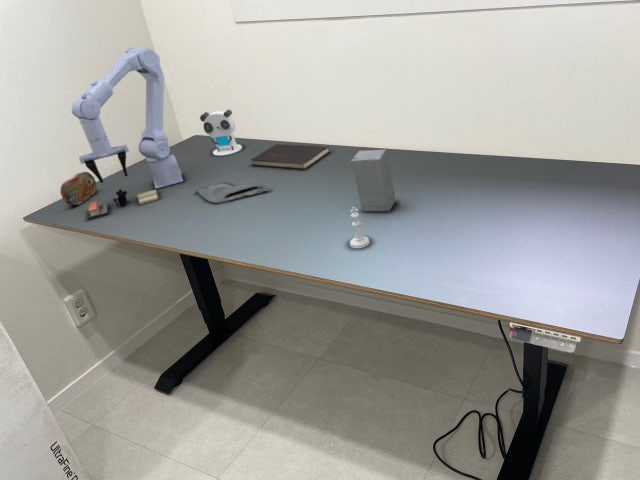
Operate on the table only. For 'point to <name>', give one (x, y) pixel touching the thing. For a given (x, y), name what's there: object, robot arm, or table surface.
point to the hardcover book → (290, 156)
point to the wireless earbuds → (121, 198)
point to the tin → (78, 188)
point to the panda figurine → (221, 132)
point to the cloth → (228, 192)
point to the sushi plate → (97, 210)
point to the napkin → (147, 196)
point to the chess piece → (358, 233)
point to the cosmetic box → (373, 180)
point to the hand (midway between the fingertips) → (114, 178)
